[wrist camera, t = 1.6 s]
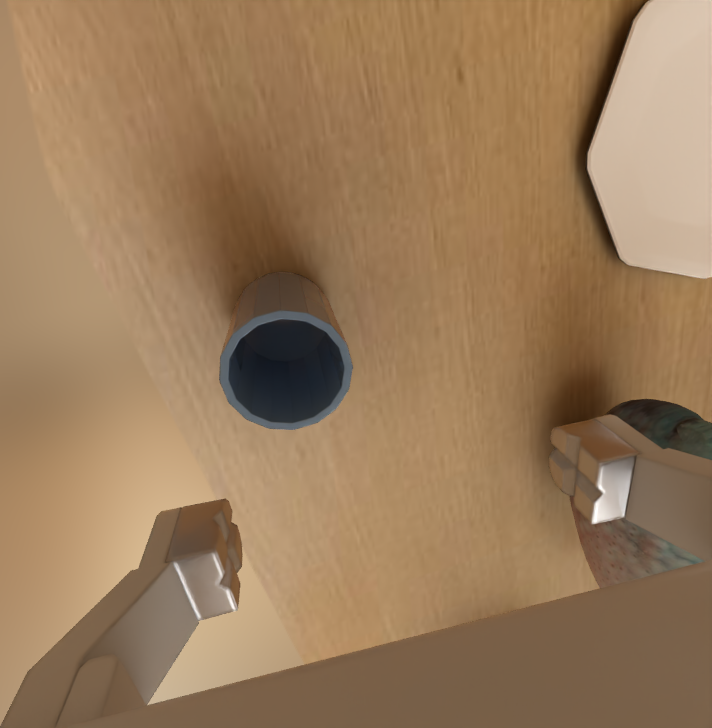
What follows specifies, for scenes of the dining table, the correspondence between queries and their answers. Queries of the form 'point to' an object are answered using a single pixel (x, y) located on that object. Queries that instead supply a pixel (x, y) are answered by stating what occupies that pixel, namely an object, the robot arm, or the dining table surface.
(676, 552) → the decorative stone
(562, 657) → the robot arm
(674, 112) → the plate
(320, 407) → the cup
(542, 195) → the dining table surface
